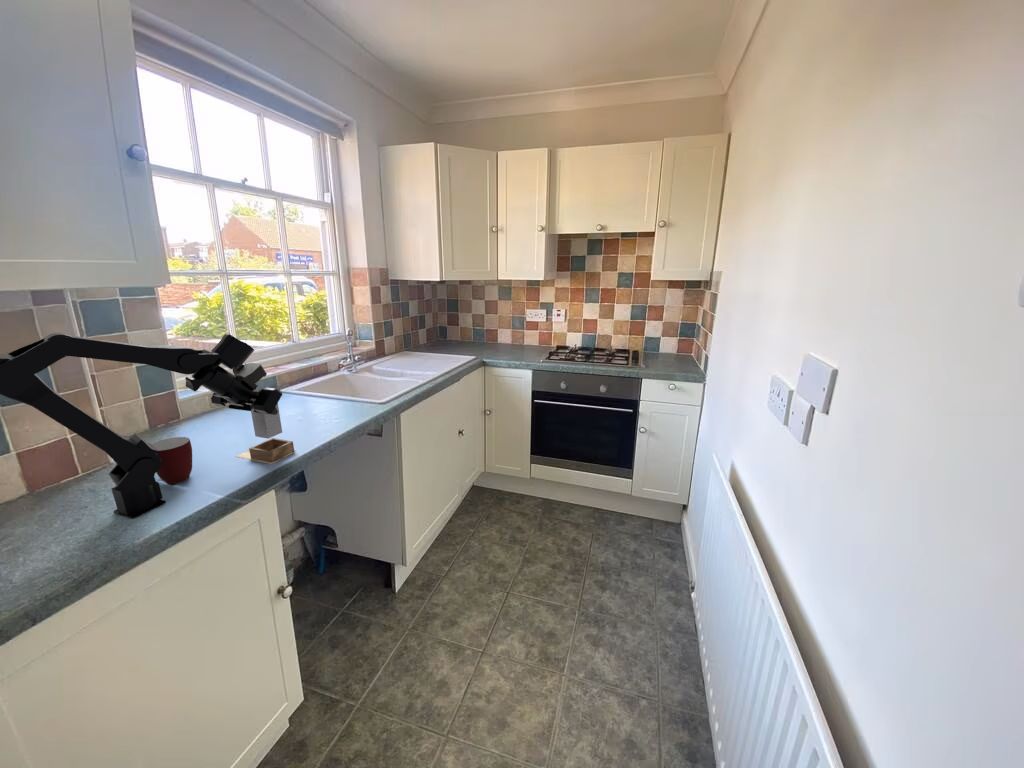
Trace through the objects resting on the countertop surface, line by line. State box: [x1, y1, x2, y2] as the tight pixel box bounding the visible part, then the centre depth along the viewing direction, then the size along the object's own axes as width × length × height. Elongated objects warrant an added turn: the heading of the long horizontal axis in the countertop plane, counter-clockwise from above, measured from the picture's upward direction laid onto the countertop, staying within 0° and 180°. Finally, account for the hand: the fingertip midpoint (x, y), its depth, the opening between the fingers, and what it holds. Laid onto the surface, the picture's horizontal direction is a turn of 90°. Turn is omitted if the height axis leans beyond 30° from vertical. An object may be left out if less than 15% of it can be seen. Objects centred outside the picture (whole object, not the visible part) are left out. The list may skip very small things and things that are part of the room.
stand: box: [234, 437, 297, 465], centre depth 113 cm, size 8×13×4 cm, turn 71°
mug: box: [151, 436, 193, 486], centre depth 99 cm, size 11×8×10 cm
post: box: [250, 401, 283, 440], centre depth 109 cm, size 4×4×11 cm
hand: (270, 412), depth 111 cm, fingers closed on post, 4 cm apart
